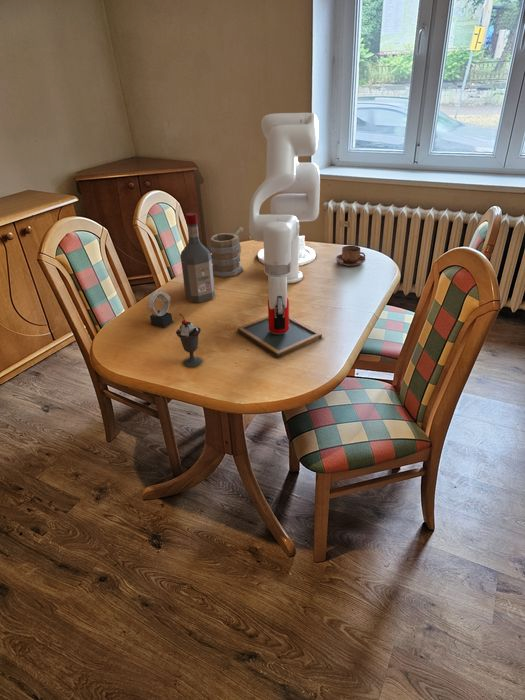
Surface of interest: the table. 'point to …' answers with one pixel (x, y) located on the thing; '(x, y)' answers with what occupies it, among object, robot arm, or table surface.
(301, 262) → the dish
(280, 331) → the beverage can
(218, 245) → the tankard
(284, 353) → the chalkboard
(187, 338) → the sundae
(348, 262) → the cup and saucer
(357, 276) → the table surface
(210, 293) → the liquor
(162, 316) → the ring sculpture on stand
